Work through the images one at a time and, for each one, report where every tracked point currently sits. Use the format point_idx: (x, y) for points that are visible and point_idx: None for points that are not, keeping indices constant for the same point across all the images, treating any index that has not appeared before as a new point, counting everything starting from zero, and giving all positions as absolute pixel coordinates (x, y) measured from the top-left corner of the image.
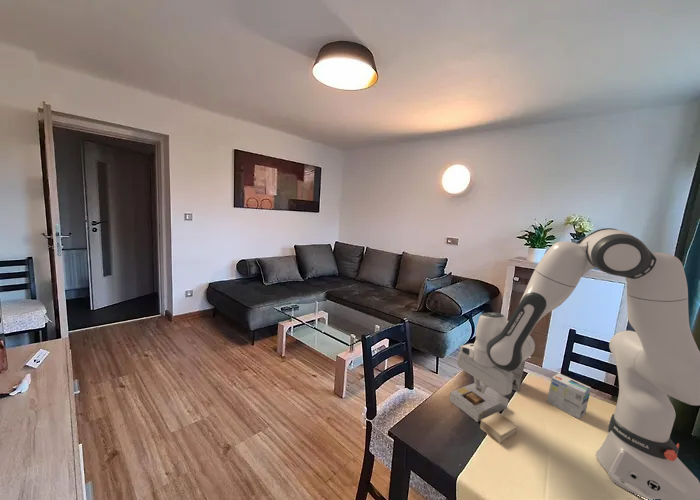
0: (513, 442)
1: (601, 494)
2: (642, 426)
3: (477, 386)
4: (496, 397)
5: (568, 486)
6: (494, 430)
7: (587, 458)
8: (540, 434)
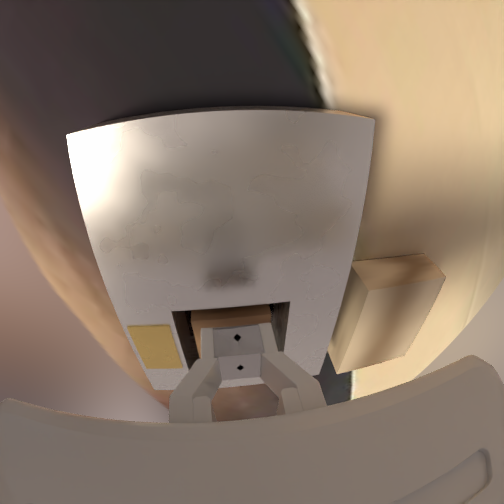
0: None
1: None
2: None
3: (224, 376)
4: (311, 196)
5: (498, 276)
6: (384, 359)
7: None
8: (475, 164)
